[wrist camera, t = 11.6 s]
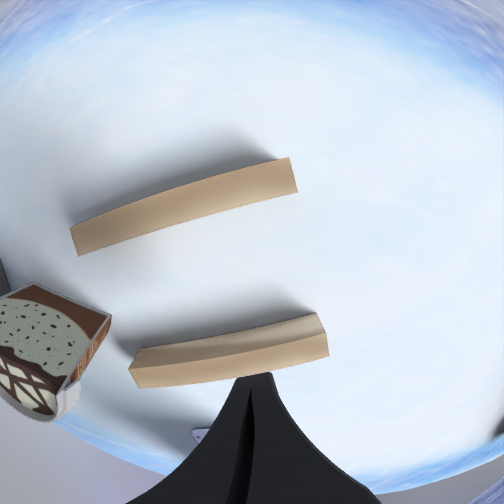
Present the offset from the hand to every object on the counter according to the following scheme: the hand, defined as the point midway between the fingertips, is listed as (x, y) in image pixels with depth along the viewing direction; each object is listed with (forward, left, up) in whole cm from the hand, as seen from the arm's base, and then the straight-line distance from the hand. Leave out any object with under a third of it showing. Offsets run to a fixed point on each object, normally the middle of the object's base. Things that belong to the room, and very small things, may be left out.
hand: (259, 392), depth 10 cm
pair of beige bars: (+2, +3, -10) cm, 11 cm away
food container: (+1, +17, -10) cm, 20 cm away
